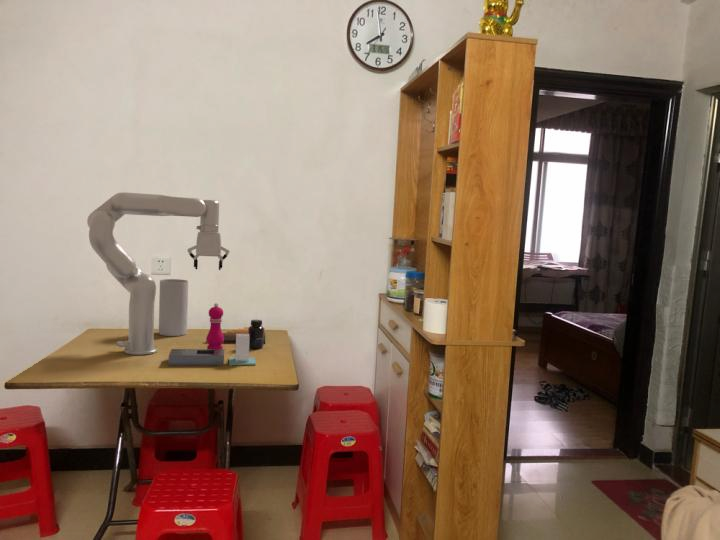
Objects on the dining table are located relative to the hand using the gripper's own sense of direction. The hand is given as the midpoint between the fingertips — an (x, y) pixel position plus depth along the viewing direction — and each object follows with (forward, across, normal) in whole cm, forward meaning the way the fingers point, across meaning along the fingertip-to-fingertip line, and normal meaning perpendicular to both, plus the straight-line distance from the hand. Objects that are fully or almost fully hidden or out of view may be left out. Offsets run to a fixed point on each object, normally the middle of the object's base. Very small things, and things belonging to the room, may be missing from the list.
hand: (208, 269), depth 247 cm
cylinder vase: (+34, -16, +25) cm, 45 cm away
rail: (+33, -2, -27) cm, 43 cm away
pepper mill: (+34, +4, -7) cm, 34 cm away
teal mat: (+33, +15, -27) cm, 45 cm away
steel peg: (+32, +15, -27) cm, 45 cm away
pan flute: (+34, +14, +18) cm, 41 cm away
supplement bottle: (+34, +21, -2) cm, 40 cm away
